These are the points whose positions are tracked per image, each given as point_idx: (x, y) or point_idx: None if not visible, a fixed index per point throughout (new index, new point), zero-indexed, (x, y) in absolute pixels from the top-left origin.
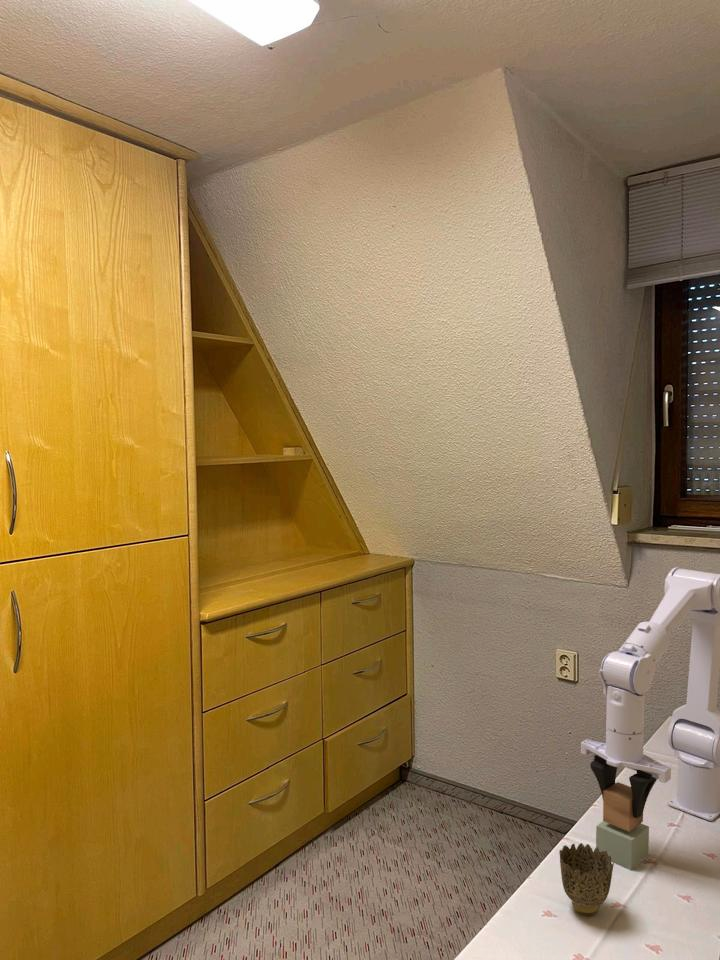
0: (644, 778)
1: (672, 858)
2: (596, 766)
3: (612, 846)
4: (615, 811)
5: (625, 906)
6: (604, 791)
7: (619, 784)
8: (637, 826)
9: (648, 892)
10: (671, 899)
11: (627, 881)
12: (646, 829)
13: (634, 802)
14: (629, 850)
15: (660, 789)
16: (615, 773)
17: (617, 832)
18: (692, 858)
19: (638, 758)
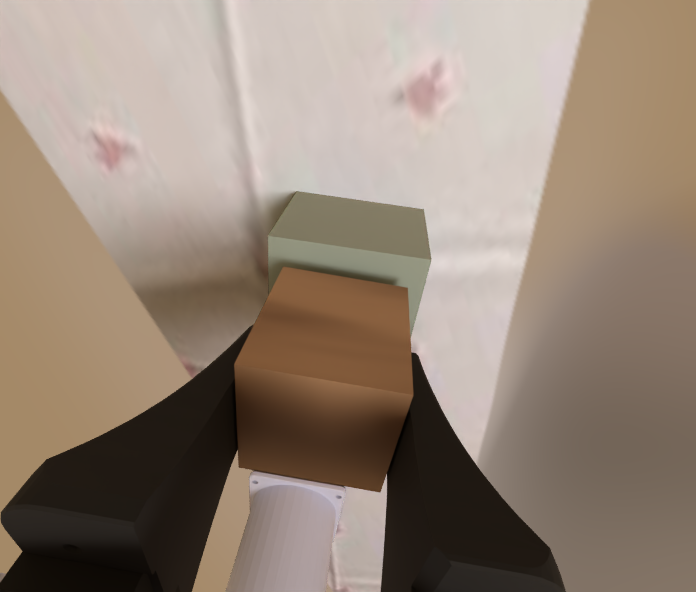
0: (48, 545)
1: (241, 315)
2: (496, 576)
3: (358, 222)
4: (340, 318)
5: None
6: (405, 393)
7: (362, 478)
8: None
9: (195, 97)
10: (128, 109)
11: (276, 117)
12: None
13: (224, 374)
14: (287, 217)
15: (380, 523)
16: (385, 539)
17: (338, 260)
18: (207, 340)
19: None
